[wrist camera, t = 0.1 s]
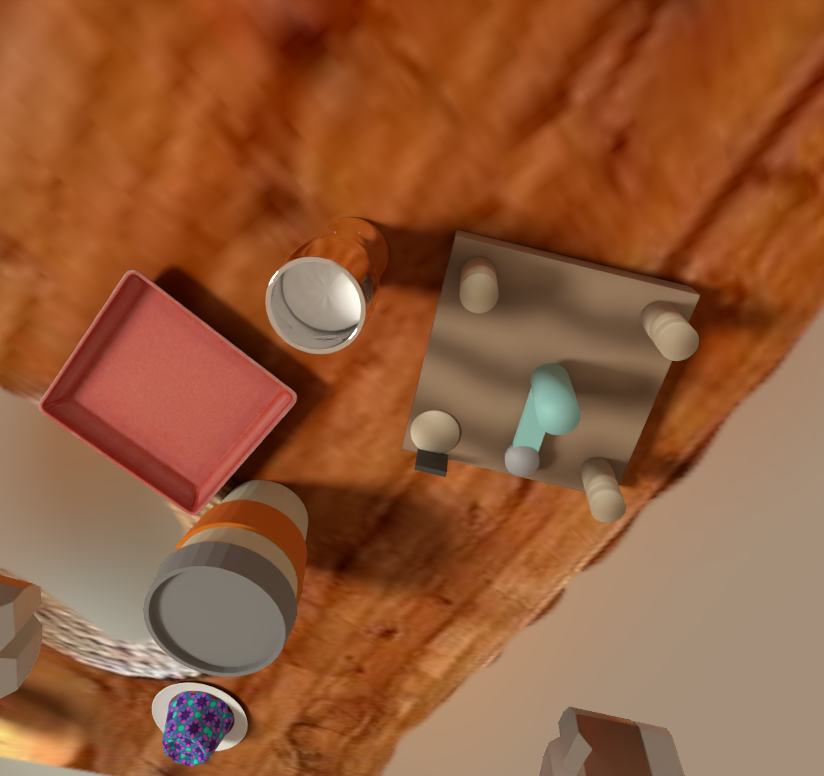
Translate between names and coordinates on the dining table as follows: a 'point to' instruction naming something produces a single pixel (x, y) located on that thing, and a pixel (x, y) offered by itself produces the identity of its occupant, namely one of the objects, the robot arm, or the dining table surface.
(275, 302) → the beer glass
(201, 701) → the purple patterned hat
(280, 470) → the dining table surface
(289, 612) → the reusable coffee cup
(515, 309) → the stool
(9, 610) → the robot arm
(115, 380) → the plant saucer
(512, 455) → the folding leg
